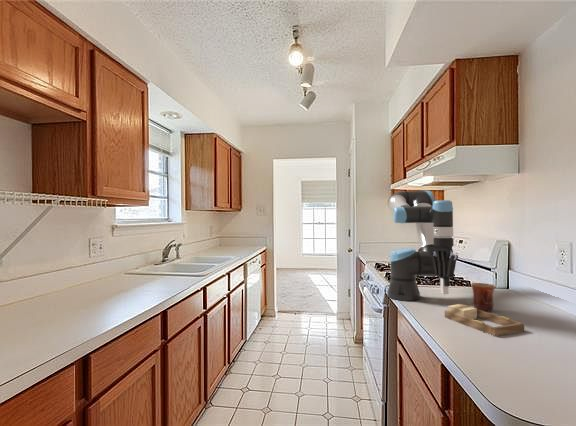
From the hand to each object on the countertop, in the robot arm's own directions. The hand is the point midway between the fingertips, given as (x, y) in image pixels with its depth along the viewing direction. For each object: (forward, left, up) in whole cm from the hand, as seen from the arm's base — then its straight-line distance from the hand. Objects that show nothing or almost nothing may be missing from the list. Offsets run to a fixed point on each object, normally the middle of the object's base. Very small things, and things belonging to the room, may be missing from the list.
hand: (444, 293), depth 132 cm
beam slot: (+17, 0, -7) cm, 18 cm away
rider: (+9, 0, -7) cm, 11 cm away
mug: (+6, +15, -7) cm, 18 cm away
